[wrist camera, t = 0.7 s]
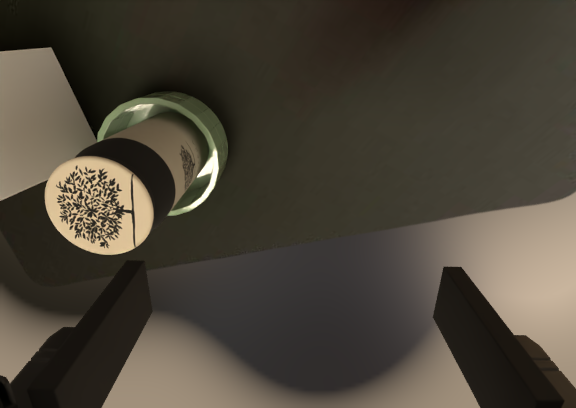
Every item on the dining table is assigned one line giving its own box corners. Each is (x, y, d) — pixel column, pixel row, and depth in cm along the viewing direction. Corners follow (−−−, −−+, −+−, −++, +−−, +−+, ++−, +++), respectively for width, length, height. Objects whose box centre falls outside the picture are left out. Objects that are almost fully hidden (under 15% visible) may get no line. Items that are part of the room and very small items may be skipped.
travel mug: (135, 170, 43) (38, 244, 27) (143, 103, 40) (40, 139, 24) (202, 187, 44) (148, 269, 27) (215, 122, 41) (162, 171, 24)
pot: (102, 112, 41) (72, 122, 36) (202, 75, 40) (187, 79, 34) (152, 207, 46) (132, 229, 40) (243, 177, 44) (236, 196, 38)
